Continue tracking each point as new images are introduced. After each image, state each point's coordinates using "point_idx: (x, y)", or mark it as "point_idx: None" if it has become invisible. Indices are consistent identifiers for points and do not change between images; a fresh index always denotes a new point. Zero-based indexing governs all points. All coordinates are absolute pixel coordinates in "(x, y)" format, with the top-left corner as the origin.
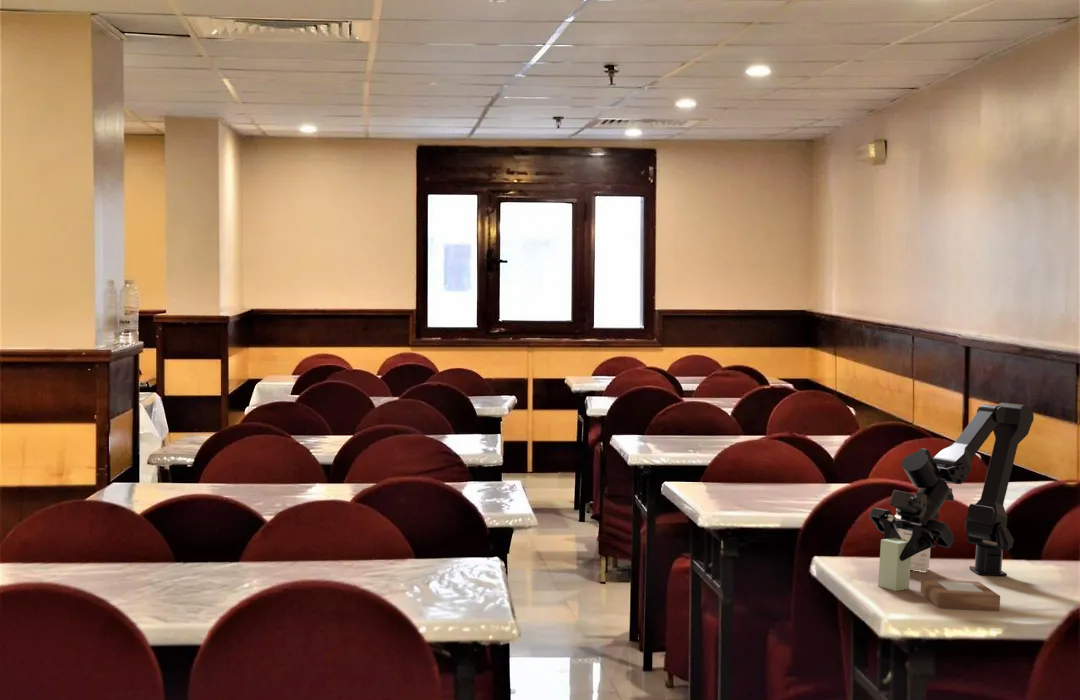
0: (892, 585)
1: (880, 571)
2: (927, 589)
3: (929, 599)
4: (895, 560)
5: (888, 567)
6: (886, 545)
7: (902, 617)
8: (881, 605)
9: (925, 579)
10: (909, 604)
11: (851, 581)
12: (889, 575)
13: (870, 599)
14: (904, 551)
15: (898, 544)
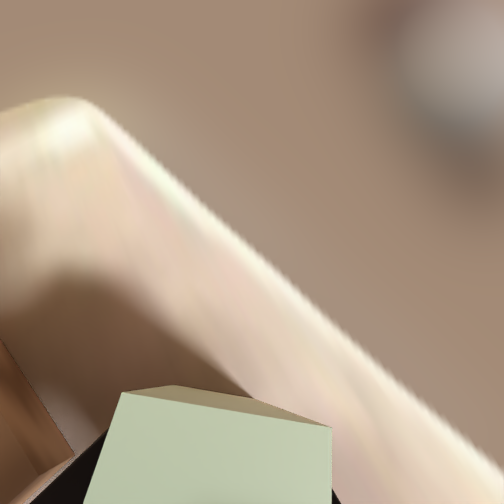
0: (187, 387)
1: (257, 401)
2: (3, 382)
3: (10, 358)
4: (167, 390)
5: (214, 395)
6: (256, 411)
7: (53, 125)
8: (136, 182)
9: (12, 486)
10: (70, 245)
11: (345, 377)
12: (205, 392)
13: (184, 214)
14: (93, 455)
15: (124, 396)
